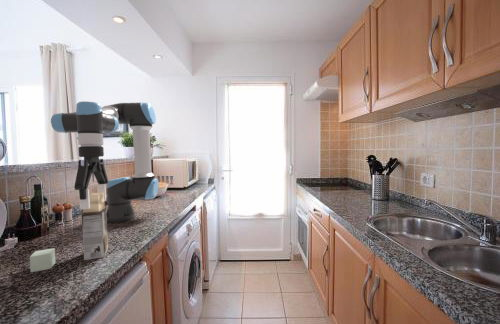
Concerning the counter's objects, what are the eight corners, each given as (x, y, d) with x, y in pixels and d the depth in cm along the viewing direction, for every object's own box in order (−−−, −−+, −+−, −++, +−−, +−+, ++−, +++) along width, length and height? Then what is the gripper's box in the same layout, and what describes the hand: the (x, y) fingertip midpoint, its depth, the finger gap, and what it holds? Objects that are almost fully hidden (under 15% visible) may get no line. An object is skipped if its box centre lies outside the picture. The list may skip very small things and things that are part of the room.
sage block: (36, 265, 79) (35, 251, 79) (55, 262, 81) (54, 248, 81) (30, 272, 74) (29, 256, 74) (50, 268, 77) (49, 253, 76)
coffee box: (89, 251, 90) (86, 208, 89) (108, 247, 92) (106, 206, 92) (83, 260, 82) (80, 214, 81) (105, 257, 84) (102, 212, 83)
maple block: (89, 209, 88) (88, 193, 88) (104, 208, 89) (103, 192, 89) (83, 212, 83) (82, 195, 83) (98, 211, 84) (98, 194, 84)
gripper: (95, 147, 97) (97, 198, 98) (58, 144, 72) (62, 213, 73) (115, 146, 98) (117, 197, 99) (85, 144, 74) (89, 212, 75)
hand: (94, 204), depth 86 cm, fingers open, 13 cm apart
